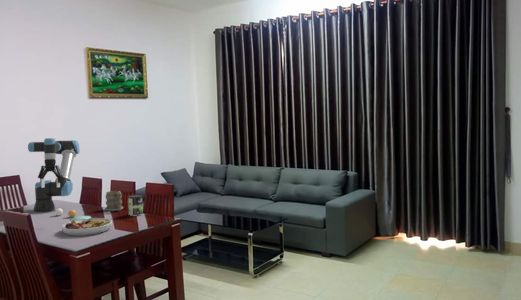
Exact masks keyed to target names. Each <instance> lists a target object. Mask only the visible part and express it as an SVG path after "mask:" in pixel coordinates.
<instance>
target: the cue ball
mask: <svg viewBox="0 0 521 300" xmlns="http://www.w3.org/2000/svg"><path fill="white" fill-rule="evenodd" d="M54 214H55V215H56V216H62V215H63V214H64V210H63V209H62V208H61V207H59V208H55V209H54Z"/></svg>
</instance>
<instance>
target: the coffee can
mask: <svg viewBox="0 0 521 300" xmlns="http://www.w3.org/2000/svg"><path fill="white" fill-rule="evenodd" d="M127 199H128V200H127V202H128V216H129V215H130V216H129V217H137V215H139V216H142V214H144V213H143V212H144V211H143V209H144V207H143V205H144V204H143V195H142V194H131V195H128V196H127Z"/></svg>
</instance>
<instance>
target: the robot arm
mask: <svg viewBox="0 0 521 300" xmlns="http://www.w3.org/2000/svg"><path fill="white" fill-rule="evenodd" d="M27 149H28V150H27V151H28V152H29V153H43V152H44V155H43V156H44V157H43V158H44V165H41V166H40V170H39V173H38V176H37V179H40V180H39V181H37V182H36V183H35V184H34V192H35V193H34V194H35V203H34V206H33V212H39V213H40V212H49V211H55V210H56V206H55V203H54V201H53V197H68V196H70V195H71V194H72V192H73V182H72V181H71V179H70V177H71V173H72V169H73V168H72V167H73V162H74V159H75V158H76V156H77V155H78V154H80V144H79V141H77V140H56V138H50V137H49V138H47V137H46V138H44V140H43V141H32V142H29V143H28V144H27ZM56 155H61V156H62V159H61V162H60V165H59V164H57V162H56V159H57V158H56V157H57V156H56ZM56 164H57V165H56ZM49 172H52V173H53V174H54V175H55V177H56V178H55V181H52V179H48V180H45V177H46V176H47V174H48V173H49Z"/></svg>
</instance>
